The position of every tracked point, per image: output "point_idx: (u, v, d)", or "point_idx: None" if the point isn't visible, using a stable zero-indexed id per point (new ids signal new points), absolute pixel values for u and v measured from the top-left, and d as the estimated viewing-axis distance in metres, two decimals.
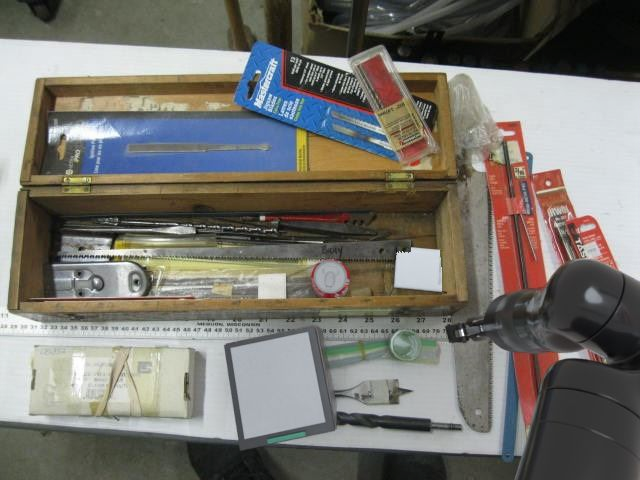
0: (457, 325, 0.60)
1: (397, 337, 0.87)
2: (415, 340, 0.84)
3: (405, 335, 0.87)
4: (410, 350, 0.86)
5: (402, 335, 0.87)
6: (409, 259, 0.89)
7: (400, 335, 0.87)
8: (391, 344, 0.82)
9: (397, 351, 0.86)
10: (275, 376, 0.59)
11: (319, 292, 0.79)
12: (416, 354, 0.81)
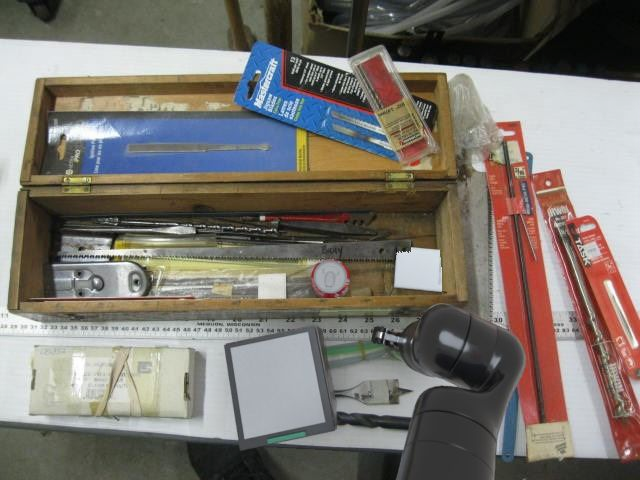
0: (379, 327, 0.67)
1: None
2: None
3: None
4: None
5: None
6: (409, 259, 0.89)
7: None
8: None
9: None
10: (275, 376, 0.59)
11: (319, 292, 0.79)
12: None
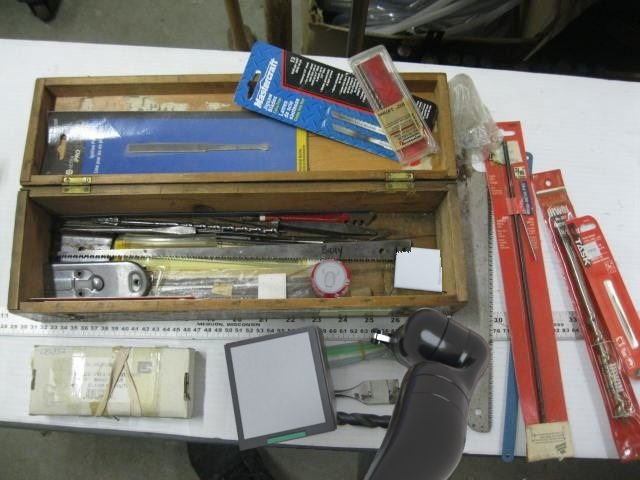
0: (373, 329, 0.77)
1: None
2: None
3: None
4: None
5: None
6: (409, 259, 0.89)
7: None
8: None
9: None
10: (275, 376, 0.59)
11: (319, 292, 0.79)
12: None
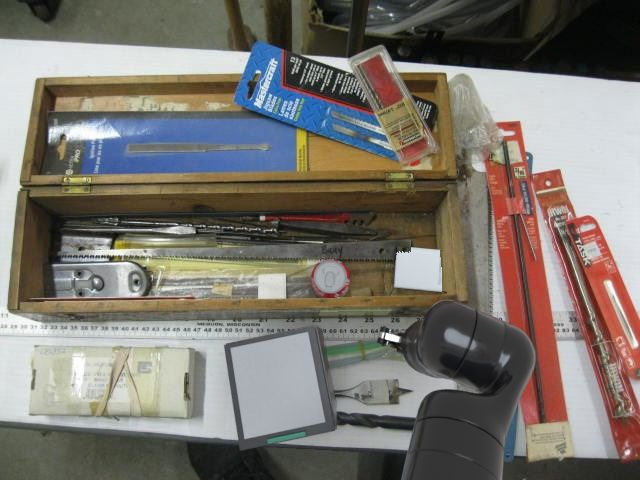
0: (381, 327, 0.66)
1: None
2: None
3: None
4: None
5: None
6: (409, 259, 0.89)
7: None
8: None
9: None
10: (275, 376, 0.59)
11: (319, 292, 0.79)
12: None
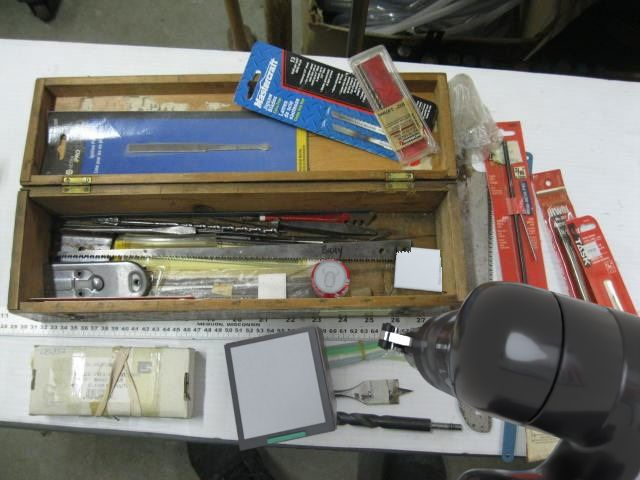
0: (383, 324, 0.47)
1: None
2: None
3: None
4: None
5: None
6: (409, 259, 0.89)
7: None
8: None
9: None
10: (275, 376, 0.59)
11: (319, 292, 0.79)
12: None
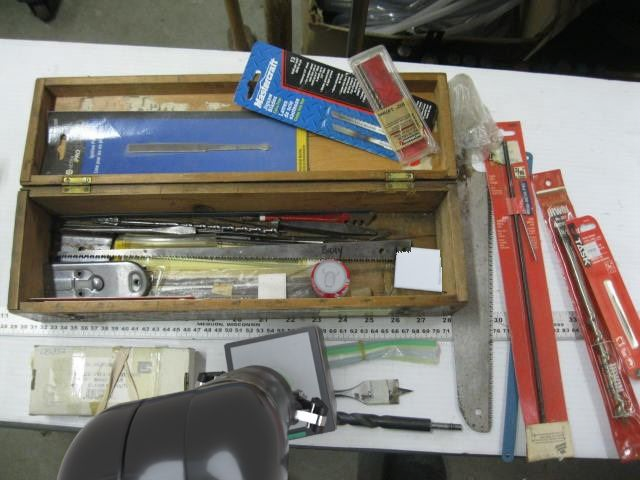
0: (198, 374, 0.46)
1: None
2: None
3: None
4: None
5: None
6: (409, 259, 0.89)
7: None
8: None
9: None
10: None
11: (319, 292, 0.79)
12: None
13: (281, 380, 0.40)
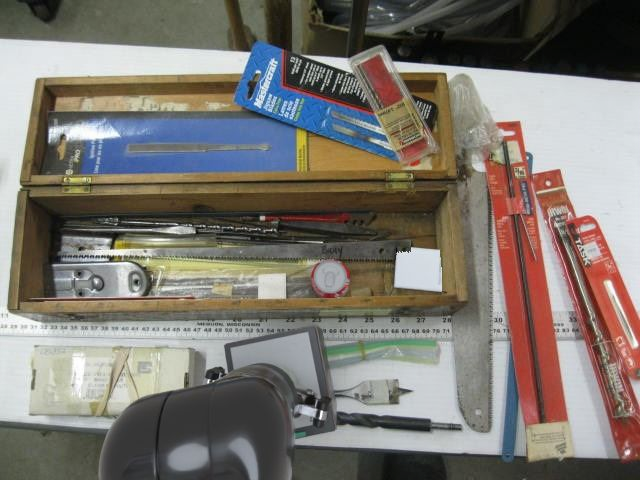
0: (206, 372, 0.49)
1: None
2: None
3: None
4: None
5: None
6: (409, 259, 0.89)
7: None
8: None
9: None
10: None
11: (319, 292, 0.79)
12: None
13: (285, 376, 0.44)
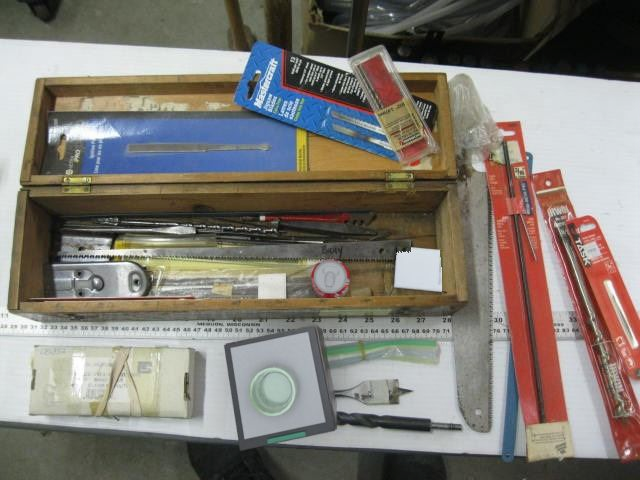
0: None
1: (270, 377, 0.59)
2: None
3: (282, 374, 0.59)
4: (288, 396, 0.58)
5: (277, 374, 0.59)
6: (409, 259, 0.89)
7: (274, 374, 0.59)
8: (250, 390, 0.54)
9: (269, 398, 0.58)
10: None
11: (319, 292, 0.79)
12: (286, 406, 0.54)
13: None
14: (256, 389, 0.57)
